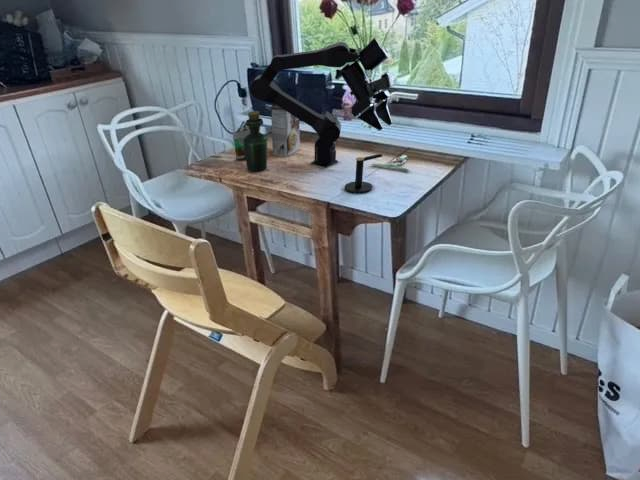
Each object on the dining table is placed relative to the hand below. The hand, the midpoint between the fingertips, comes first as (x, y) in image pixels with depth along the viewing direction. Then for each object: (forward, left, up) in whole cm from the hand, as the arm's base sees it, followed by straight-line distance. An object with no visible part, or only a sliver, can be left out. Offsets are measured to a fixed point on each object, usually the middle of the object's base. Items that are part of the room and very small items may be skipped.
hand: (386, 127), depth 156 cm
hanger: (+2, +1, -12) cm, 12 cm away
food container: (-45, -17, -13) cm, 50 cm away
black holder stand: (+5, -16, -13) cm, 21 cm away
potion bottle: (-33, -24, -13) cm, 43 cm away
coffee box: (-37, -6, -13) cm, 40 cm away
